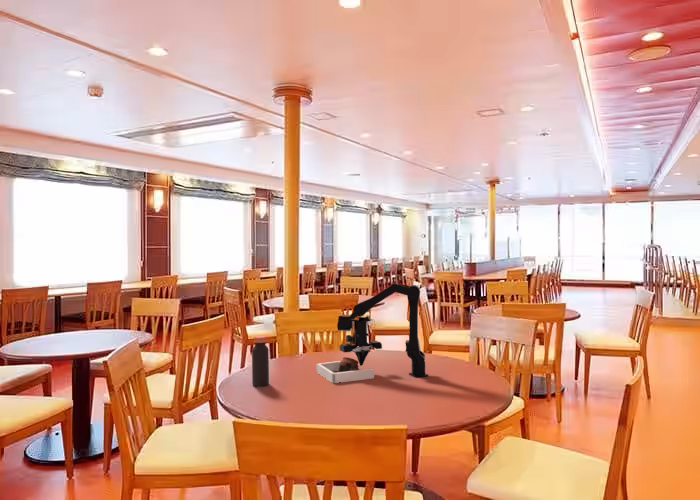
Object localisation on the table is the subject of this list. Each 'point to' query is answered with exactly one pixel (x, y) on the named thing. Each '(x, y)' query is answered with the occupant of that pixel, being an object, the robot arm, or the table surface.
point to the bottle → (260, 362)
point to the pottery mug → (348, 365)
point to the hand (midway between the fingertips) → (361, 365)
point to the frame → (342, 373)
